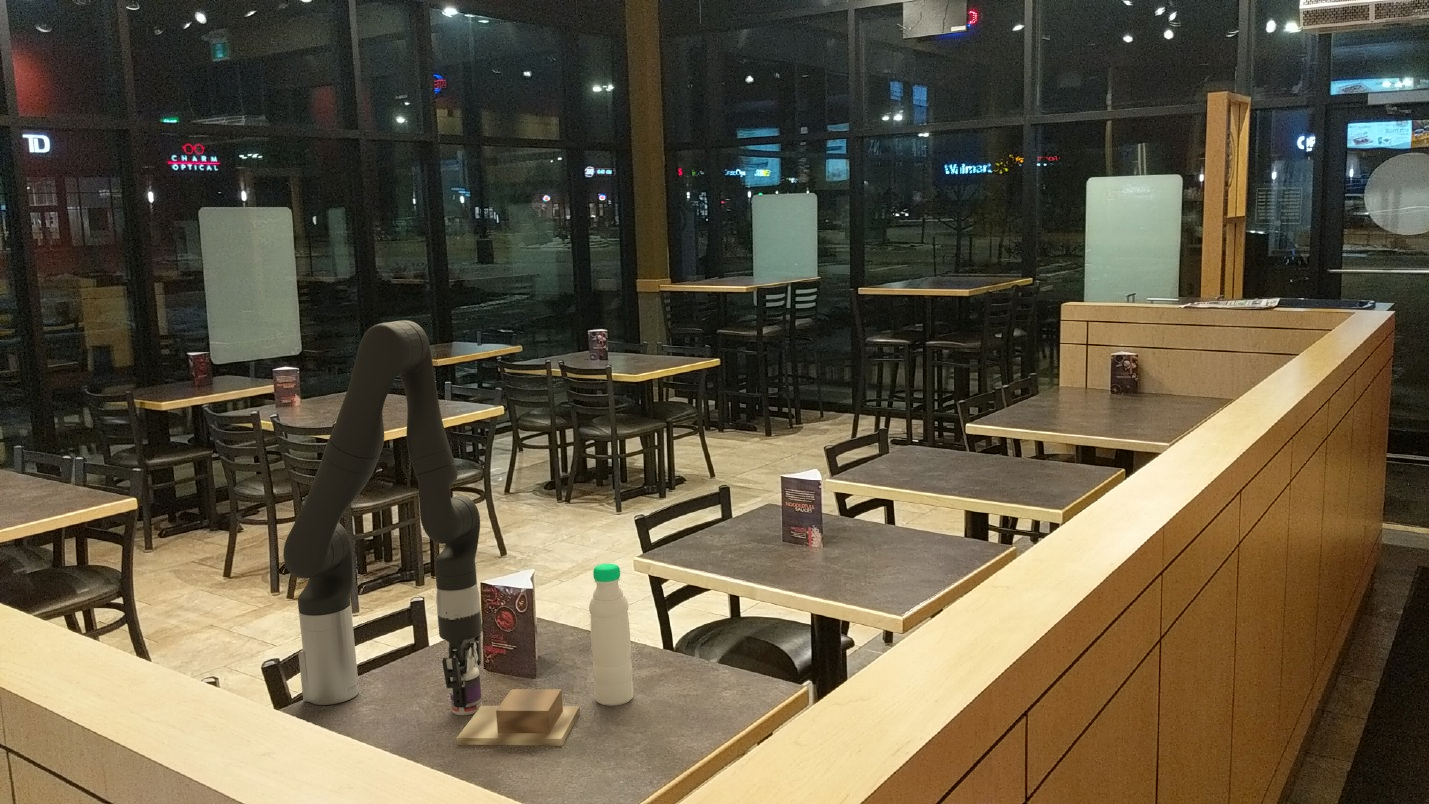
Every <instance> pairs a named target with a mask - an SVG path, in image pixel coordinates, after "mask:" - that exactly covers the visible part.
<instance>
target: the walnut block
mask: <svg viewBox="0 0 1429 804" xmlns="http://www.w3.org/2000/svg"><path fill="white" fill-rule="evenodd" d="M498 706H499V707H498V708H497V710H496V717H497V730H498V733H550V732H551V730H552V729H553V727H554V725H555V724H556V722H557V720H558V719H559V717H560V715H561V713H562V712H563V694H562V689H560V688H559V689H558V688H557V689H553V688H552V689H551V688H545V689H540V688H538V689H537V688H536V689H535V688H532V689H531V688H526V689H525V688H520V689H515V688H514V689H513V688H512V689H510V691H509V692H508V694H507V695H506V696H505V697H504V699H503V700H502V702H501V703H500V705H498Z"/></svg>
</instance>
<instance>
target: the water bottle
mask: <svg viewBox="0 0 1429 804" xmlns="http://www.w3.org/2000/svg"><path fill="white" fill-rule="evenodd" d="M592 575H593V580H594V583H595V584H596V587H595V589H594V591H593V593H592V597H591V599H590V601H589V605H588V609H589V614H590V639H591V640H590V641H591V642H590V643H591V651H592V658H593V665H592V666H593V667H592V671H593V673H592V674H593V679H594V685H593V686H594V687H593V688H594V689H593V690H594V700H595V701H596V702H597V703H599V704H600V705H603V706H608V707H614V706H621V705H624V704H627V703H628V702H630V701H631V700H632V699H633V697H634V693H635V692H634V683H633V665H632V664H633V663H632V660H631V655H632V654H631V649H632V648H631V630H630V620H629V619H630V618H629V612H628V611H629V601H628V599H627V598H626V595H625V594H624V592H623V590H622V588H621V586H620V585H619V581H620V579H621V569H620V567H619V565H618V564H615V563H602V564H598V565H595V566H594V568H593V571H592Z"/></svg>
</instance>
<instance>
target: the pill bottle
mask: <svg viewBox="0 0 1429 804" xmlns="http://www.w3.org/2000/svg"><path fill="white" fill-rule="evenodd" d="M474 665H475V660H474V656H471V657H470V663H469V673H468V674H466V685H465V686H466V694H467V705H466V707H464V708H457V707H455V706H454V699H453V688H449V694H450V704H451V712H452V713H453V715H456V716H469V715H474V714H475V713H476V712H477V711H478V709H479V708H480V707H481V706H483V699H482V687H481V677H480V676H481V675H480V670H479V667H478V668H476V667H474ZM459 668H460V669H463V668H464V667H459ZM450 678H451V677H450ZM455 681H456V678H455Z"/></svg>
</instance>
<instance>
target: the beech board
mask: <svg viewBox="0 0 1429 804" xmlns="http://www.w3.org/2000/svg"><path fill="white" fill-rule="evenodd" d="M499 706H500V705H482V706H481V707H480V708H479V709H478V711H477V712H476V713H474V714H473V716H472V717H471V718H470V720H469V721H468V722H467V724H465V726H464V728H463V729H462V730H461V731H460V732H459V734H458V735H457V737H456V745H458V746H461V745H462V746H464V745H465V746H467V745H469V746H545V747H546V746H549V747H550V746H551V747H552V746H553V747H554V746H559V747H560V746H563V745H564V742H565V741H566V739H567V737H568V735H569V733H570V731H571V730H572V728H573V726H574V724H575V723H576V721H577V719H578V717H579V715H580V714H581V710H580V706H579V705H578V706H577V705H575V706H573V705H572V706H570V705H569V706H567V705H566V706H563V712H562V713H561V715H560V717H559V719H558V720H557V722H556V724H555V725H554V727H553V729H552V730H551V732H550V733H498V730H497V717H496V710H497V708H498V707H499Z"/></svg>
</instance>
